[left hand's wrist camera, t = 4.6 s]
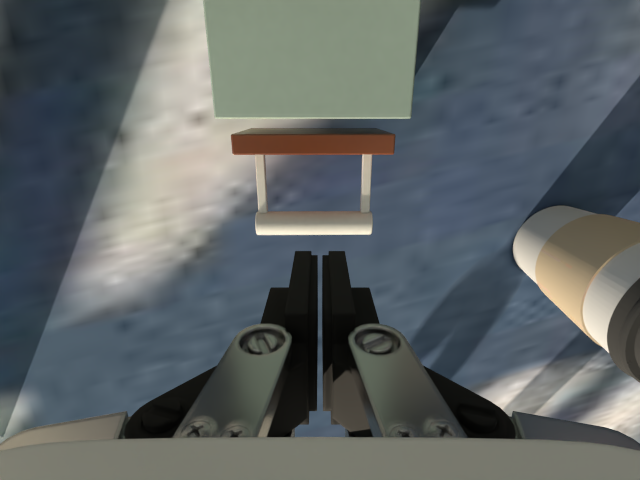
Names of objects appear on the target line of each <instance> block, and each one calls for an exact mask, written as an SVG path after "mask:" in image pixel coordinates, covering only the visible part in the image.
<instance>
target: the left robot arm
mask: <svg viewBox="0 0 640 480" xmlns="http://www.w3.org/2000/svg"><path fill="white" fill-rule="evenodd" d="M317 347H318V264H317V255H311V251H295V256H294V262H293V268H292V273H291V279H290V285H289V288H271V289H270V292H269V295H268V299H267V302H266V306H265V310H264V313H263V317H262V320H261V324H258V325H253V326H250V327H248V328H245V329H244V330H242V331H241V332H239V333H238V334H237V335H236V337H235V338H234V339H233V341H232V343H231V344H230V346H229V347H228V349H227V351H226V352H225V354H224V355H223V357H222V359H221V360H220V362H219V363H218V365H217V366H215V367H213V368H212V369H210V370H208V371H206V372H204V373H202V374H200V375H198V376H197V377H195V378H193V379H191V380H189V381H187V382H185V383H183V384H181V385H180V386H178V387H176V388H174V389H172V390H170V391H168V392H166V393H165V394H163V395H161V396H159V397H157V398H155V399H153V400H151V401H150V402H148V403H147V404H145V405H144V406H142V407H140V408H139V409H138V410H137V411H136V412H135V413H134V414H133V415H132V416H131V417H128V413H127V411H125V412H119V413H114V414H108V415H102V416H97V417H91V418H85V419H80V420H74V421H68V422H63V423H57V424H51V425H46V426H40V427H35V428H31V429H28V430H25V431H21V432H19V433H17V434H15V435H14V436H12V437H10V438H8V439H6V440H5V441H3V442H2V443H1V444H0V480H640V444H639V443H638V442H637V441H635V440H634V439H632V438H630V437H628V436H626V435H625V434H623V433H621V432H619V431H615V430H612V429H609V428H605V427H600V426H594V425H589V424H583V423H577V422H572V421H566V420H560V419H555V418H549V417H543V416H538V415H532V414H526V413H521V412H515V411H513V413H512V417H509V416H508V415H507V414H506V413H505V412H504V411H503V410H502V409H501V408H500V407H498V406H496V405H495V404H493V403H492V402H490V401H489V400H487V399H485V398H483V397H481V396H479V395H477V394H475V393H474V392H472V391H470V390H468V389H466V388H464V387H462V386H460V385H459V384H457V383H455V382H453V381H451V380H449V379H447V378H445V377H443V376H442V375H440V374H438V373H436V372H434V371H432V370H430V369H428V368H427V367H425V366H423V365H422V363H421V362H420V360H419V359H418V357H417V355H416V354H415V352H414V351H413V349H412V347H411V346H410V344H409V343H408V341H407V339H406V338H405V337H404V335H403V334H402V333H401V332H399V331H398V330H396V329H395V328H392V327H390V326H387V325H382V324H379V320H378V317H377V313H376V310H375V306H374V302H373V299H372V295H371V292H370V289H369V288H351V285H350V279H349V273H348V268H347V262H346V256H345V251H329V255H323V264H322V347H323V411H331V424H341V425H342V426H343V427H345V437H295V427H297V426H298V425H299V424H309V411H317Z"/></svg>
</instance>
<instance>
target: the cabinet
mask: <svg viewBox="0 0 640 480" xmlns="http://www.w3.org/2000/svg"><path fill="white" fill-rule="evenodd" d="M203 4H204V14H205V24H206V34H207V44H208V55H209V65H210V75H211V85H212V95H213V105H214V115H215V118H216V119H409V118H411V112H412V100H413V88H414V76H415V65H416V53H417V41H418V29H419V18H420V6H421V0H203Z"/></svg>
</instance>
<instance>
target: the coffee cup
mask: <svg viewBox="0 0 640 480" xmlns="http://www.w3.org/2000/svg"><path fill="white" fill-rule="evenodd" d="M513 255H514V259H515V261H516V263H517V265H518V266H519V267H520V268H521V269H522V270H523V271H524V272H525V273H526V274H527V275H528V276H529V277H530V278H531V279H532V280H533V281H535V282H536V283H537V284H538V286H539V287H540V289H541V290H542V292H543V293H544V294H545V295H546V296H547V297H548V298H549V299H551V300H552V301H553V302H554V303H555V304H556V305H557V306H558V307H559V308H560V309H561V310H562V311H563V312H564V313H565V314H566V315H567V316H568V317H569V318H570V319H571V320H572V321H573V322H574V323H575V324H576V325H577V326H578V327H579V328H580V329H581V330H582V331H583V332H584V333H585V334H586V335H587V336H589V337H590V338H591V339H592V340H593V341H594V342H595V343H596V344H598V345H600V346H601V347H603V348H604V349H605V350H606V351H607V352H609V353H610V356H611V358H612V360H613V361H614V363H615V364H616V365H617V366H618V367H619V368H620V369H621V370H622V371H623V372H625V373H626V374H628V375H629V376H631V377H633V378H634V379H636V380H637V381H638V382H640V223H638V222H634V221H630V220H627V219H623V218H619V217H615V216H611V215H605V214H596V213H592V212H588V211H585V210H581V209H577V208H573V207H570V206H553V207H549V208H546V209H543V210H541V211H539V212H537V213H536V214H534V215H533V216H531V217H530V218H529V219H528V220H527V221H526V222H525V223H524V224H523V225H522V226H521V228H520V229H519V231H518V233H517V235H516V237H515V240H514V244H513Z"/></svg>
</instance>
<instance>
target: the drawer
mask: <svg viewBox="0 0 640 480" xmlns="http://www.w3.org/2000/svg"><path fill="white" fill-rule="evenodd" d="M231 142H232V153H233V154H234V155H255V161H256V177H257V193H258V209H259V212H257V213H256V220H255V225H256V233H257V235H352V234H371V233H372V226H373V219H372V213H371V211H369V207H370V187H371V167H372V154H394V147H395V134H392V133H389V132H386V131H383V130H380V129H377V128H251V129H248V130H244V131H241V132H238V133H235V134H232V135H231ZM361 154H362V178H361V202H360V211H277V212H267V211H268V203H267V184H266V166H265V155H361Z"/></svg>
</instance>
